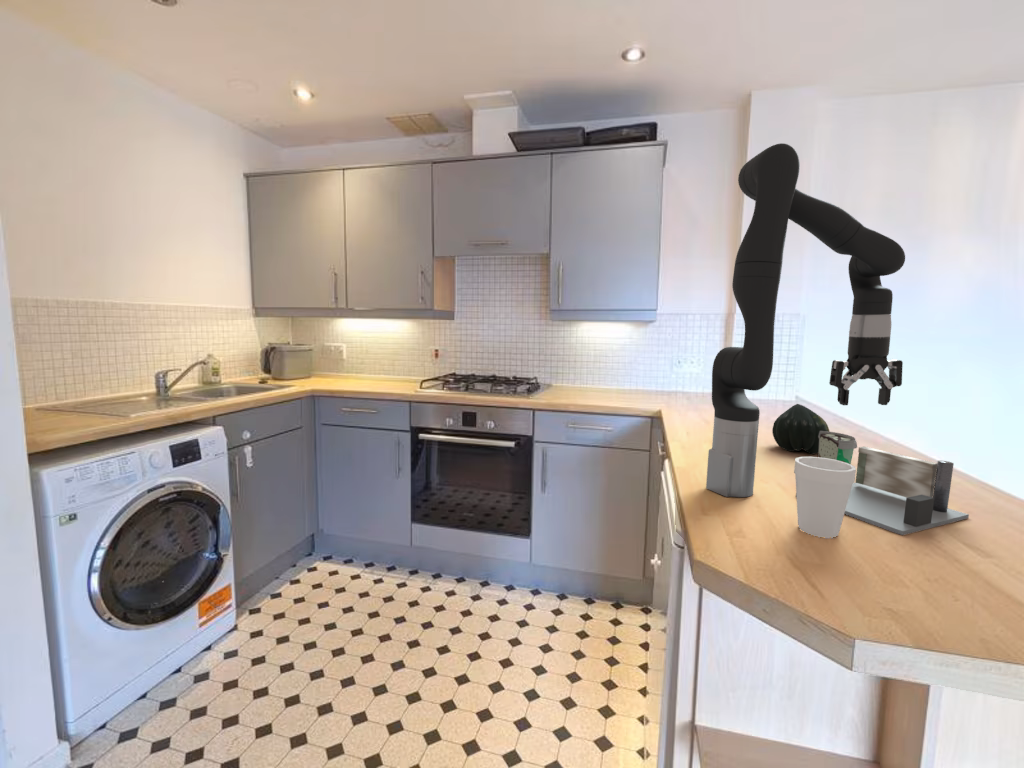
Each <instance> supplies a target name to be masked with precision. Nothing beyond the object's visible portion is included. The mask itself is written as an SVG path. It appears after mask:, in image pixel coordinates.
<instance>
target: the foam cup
mask: <svg viewBox="0 0 1024 768" xmlns="http://www.w3.org/2000/svg"><path fill="white" fill-rule="evenodd" d="M793 473H794V477H795V491H796V492H795V497H796V510H797V511H796V512H797V513H796V514H797V526H798V525H799V526H798V527H799V528H800V529H801V530H802V531H804V532H806V533H808V534H807V535H809V534H811V535H810V536H812V535H814V536H813V537H815V536H818V537H817V538H820V537H825V538H824V539H834V538H833V537H836V536H838V537H839V534H840V531H841V527H842V524H843V521H844V520H843V519H844V516H845V514H844V513H845V510H846V506H847V502H848V499H849V495H850V492H851V488H852V484H853V483H856V473H857V468H856V466H855V465H853V464H852V463H851V464H849V463H845V462H842V461H838V460H834V459H828V458H821V457H817V456H799V457H795V459H794V470H793ZM799 528H798V529H799ZM800 529H799V530H800ZM801 530H800V531H801ZM802 531H801V532H802ZM804 532H803V533H804ZM806 533H805V534H806ZM830 537H831V538H830ZM836 538H837V537H836Z"/></svg>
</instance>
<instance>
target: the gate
mask: <svg viewBox="0 0 1024 768" xmlns="http://www.w3.org/2000/svg"><path fill="white" fill-rule="evenodd" d="M857 452H858V456H857V465H856V467H857V468H856V474H855V483H859V484H862V485H866V486H870V487H873V488H877V489H880V490H883V491H887V492H890V493H893V494H897V495H900V496H903V497H907V498H908V497H913V496H917V495H925V496H929V497H932V498H933V493H934V485H935V478H936V470H937V463H938V462H934V461H930V460H926V459H925V460H924V459H921V458H917V457H911V456H907V455H903V454H900V453H893V452H890V451H885V450H881V449H878V448H873V447H868V446H859V447H858V451H857Z"/></svg>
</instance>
